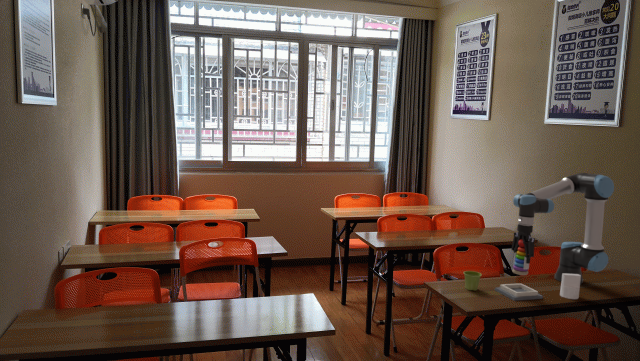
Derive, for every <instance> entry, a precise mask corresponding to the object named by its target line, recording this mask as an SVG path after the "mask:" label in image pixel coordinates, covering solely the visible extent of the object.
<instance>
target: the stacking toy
mask: <svg viewBox="0 0 640 361" xmlns="http://www.w3.org/2000/svg"><path fill="white" fill-rule="evenodd" d="M526 243H528V242H526ZM518 244H519V246H520V247H519V248H518V251H517V255H516V259H515V261H516V262H515V263H514V265H513V266H512V270H511V271H512V273H513V274H514V275H515V274H516V275H517V276H518V275H519V276H526V275H529V269H523V268H524V259H525V256H526V253H525V246H524V244H523V240H522V239H520V240H519V242H518Z"/></svg>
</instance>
